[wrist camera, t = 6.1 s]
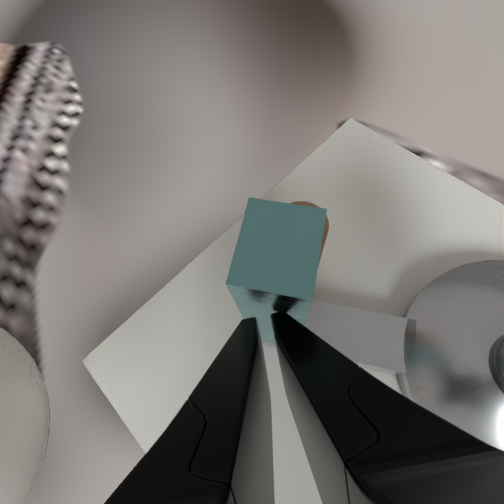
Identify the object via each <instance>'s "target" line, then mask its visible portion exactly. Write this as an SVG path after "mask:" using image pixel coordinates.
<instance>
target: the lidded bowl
mask: <svg viewBox="0 0 504 504" xmlns="http://www.w3.org/2000/svg"><path fill="white" fill-rule="evenodd" d="M49 419H50V411H49V401H48V395H47V391H46V387H45V384H44V380H43V378H42V375H41V373H40V371H39V369H38V367H37V365H36V363H35V361H34V359H33V358H32V357H31V355H30V354H29V353H28V352H27V350H26V349H25V348H24V347H23V346H22V345H21V344H20V343H19V341H18V340H17V339H15V338H14V337H13V336H12V335H10V334H9V333H8V332H7V331H6V330H4V329H3V328H1V327H0V504H26V502H27V500H28V498H29V496H30V494H31V492H32V489H33V487H34V485H35V482H36V480H37V478H38V476H39V473H40V470H41V466H42V463H43V459H44V456H45V453H46V447H47V441H48V435H49V421H50V420H49Z"/></svg>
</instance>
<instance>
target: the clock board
mask: <svg viewBox="0 0 504 504" xmlns="http://www.w3.org/2000/svg"><path fill="white" fill-rule="evenodd" d="M261 199H262V200H269V201H276V202H283V203H290V204H297V205H304V206H311V207H318V208H325V209H327V212H326V219H325V225H324V232H323V238H322V244H321V251H320V257H319V264H318V270H317V276H316V283H315V289H314V296H313V300H316V301H321V302H326V303H331V304H336V305H341V306H347V307H352V308H357V309H362V310H367V311H372V312H377V313H383V314H388V315H393V316H398V317H403V316H404V313H405V311H406V309H407V308H408V306H409V304H410V303H411V301H412V300H413V299H414V297H415V296H416V295H417V294H418V293H419V292H420V291H421V290H422V289H423V288H424V287H426V286H427V285H428V284H429V283H431V282H432V281H433V280H435V279H436V278H437V277H438V276H440V275H442V274H443V273H445V272H447V271H449V270H451V269H453V268H455V267H458V266H460V265H463V264H467V263H471V262H476V261H484V260H504V205H503V204H501V203H500V202H498V201H496V200H494V199H492V198H491V197H489V196H487V195H485V194H484V193H482V192H480V191H478V190H477V189H475V188H473V187H471V186H470V185H468V184H466V183H464V182H463V181H461V180H459V179H457V178H456V177H454V176H452V175H450V174H449V173H447V172H445V171H443V170H441V169H440V168H438V167H436V166H434V165H433V164H431V163H429V162H427V161H426V160H424V159H422V158H420V157H419V156H417V155H415V154H413V153H412V152H410V151H408V150H406V149H405V148H403V147H401V146H399V145H397V144H396V143H394V142H392V141H390V140H389V139H387V138H385V137H383V136H382V135H380V134H378V133H376V132H375V131H373V130H371V129H369V128H368V127H366V126H364V125H362V124H361V123H359V122H357V121H355V120H353V119H352V118H350V119H349V120H348V121H346V122H345V123H344V124H343V125H342V126H341V127H340V128H339V129H338V130H337V131H335V132H334V133H333V134H332V135H331V136H330V137H329V138H328V139H327V140H325V142H323V143H322V144H321V145H320V146H319V147H318V148H317V149H316V150H315V151H313V152H312V153H311V154H310V155H309V156H308V157H307V158H306V159H305V160H303V161H302V162H301V163H300V164H299V165H298V166H297V167H296V168H294V169H293V170H292V171H291V172H290V173H289V174H288V175H287V176H286V177H285V178H284V179H282V180H281V181H280V182H279V183H278V184H277V185H276V186H275V187H274V188H272V189H271V190H270V191H269V192H268V193H267V194H266V195H265V196H264V197H262V198H261ZM244 215H245V214H244ZM244 215H243V216H241V217H240V218H239V219H238V220H237V221H236V222H235V223H234V224H232V225H231V226H230V227H229V228H228V229H227V230H226V231H225V232H224V233H223V234H221V235H220V236H219V237H218V238H217V239H216V240H215V241H214V242H213V243H212V244H210V245H209V246H208V247H207V248H206V249H205V250H204V251H203V252H202V253H200V254H199V255H198V256H197V257H196V258H195V259H194V260H193V261H192V262H190V263H189V264H188V265H187V266H186V267H185V268H184V269H183V270H182V271H180V272H179V273H178V274H177V275H176V276H175V277H174V278H173V279H172V280H171V281H169V282H168V283H167V284H166V285H165V286H164V287H163V288H162V289H161V290H159V291H158V293H156V294H155V295H154V296H153V297H152V298H151V299H150V300H148V301H147V302H146V303H145V304H144V305H143V306H142V307H141V308H140V309H138V310H137V311H136V312H135V313H134V314H133V315H132V316H131V317H130V318H129V319H127V320H126V321H125V322H124V323H123V324H122V325H121V326H120V327H119V328H117V329H116V330H115V331H114V332H113V333H112V334H111V335H110V336H109V337H108V338H106V339H105V340H104V341H103V342H102V343H101V344H100V345H99V346H97V347H96V348H95V349H94V350H93V351H92V352H91V353H90V354H89V355H88V356H86V358H84V359H83V360H82V362H83V364H84V365H85V366H86V368H87V369H88V371H89V372H90V374H91V375H92V377H93V378H94V380H95V381H96V382H97V384H98V385H99V387H100V388H101V389H102V391H103V392H104V394H105V395H106V397H107V398H108V400H109V401H110V403H111V404H112V406H113V407H114V408H115V410H116V411H117V413H118V414H119V416H120V417H121V418H122V420H123V421H124V423H125V424H126V426H127V427H128V428H129V430H130V432H131V433H132V434H133V436H134V437H135V439H136V440H137V442H138V443H139V445H140V446H141V447H142V449H143V450H144V452H145V453H147V452H148V451H149V449H150V448H151V447H152V446H153V444H154V443H155V442H156V441H157V439H158V438H159V437H160V436H161V434H162V433H163V432H164V431H165V429H166V428H167V427H168V425H169V424H170V422H171V421H172V420H173V418H174V417H175V416H176V414H177V413H178V411H179V410H180V409H181V407H182V406H183V404H184V403H185V401H186V400H188V397H189V396H190V394H191V393H192V391H193V390H194V388H195V387H196V385H197V384H198V383H199V381H200V380H201V378H202V377H203V375H204V374H205V372H206V371H207V369H208V368H209V367H210V365H211V364H212V362H213V361H214V359H215V358H216V356H217V355H218V353H219V352H220V351H221V349H222V348H223V346H224V345H225V343H226V342H227V340H228V339H229V337H230V336H231V334H232V333H233V332H234V330H235V329H236V327H237V326H238V324H239V323H240V321H241V320H242V319H243V317H242V315H241V313H240V311H239V309H238V307H237V305H236V303H235V301H234V299H233V298H232V296H231V294H230V292H229V290H228V288H227V286H226V284H225V283H226V280H227V276H228V273H229V269H230V265H231V262H232V258H233V254H234V251H235V247H236V244H237V240H238V236H239V233H240V229H241V225H242V222H243V218H244ZM262 345H263V344H262ZM263 351H264V357H265V364H266V370H267V376H268V382H269V388H270V396H271V412H272V441H273V470H274V499H275V504H322V501H321V498H320V495H319V492H318V489H317V486H316V483H315V480H314V477H313V474H312V471H311V468H310V465H309V462H308V459H307V456H306V453H305V450H304V447H303V444H302V441H301V438H300V435H299V432H298V430H297V427H296V424H295V421H294V418H293V415H292V412H291V409H290V406H289V403H288V400H287V396H286V393H285V388H284V384H283V379H282V374H281V369H280V364H279V359H278V354H277V349H276V347H272V346H268V345H263ZM359 367H361V366H359ZM362 368H363V369H365V370H366V371H367V372H369V373H370V374H371V375H373V376H374V377H376V378H377V379H379V380H380V381H382V382H383V383H385V384H386V385H388V386H389V387H391V388H392V389H394V390H395V391H397V392H399V393H400V394H402V395H404V394H403V390H402V387H401V383H400V380H399V375H397V374H392V373H388V372H383V371H379V370H374V369H370V368H365V367H362Z"/></svg>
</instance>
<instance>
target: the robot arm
mask: <svg viewBox="0 0 504 504" xmlns="http://www.w3.org/2000/svg"><path fill="white" fill-rule="evenodd" d="M270 318H271V323H272V328H273V334H274V339H275V344H276V349H277V354H278V359H279V364H280V369H281V374H282V379H283V384H284V388H285V393H286V396H287V400H288V403H289V406H290V409H291V412H292V415H293V418H294V421H295V424H296V427H297V430H298V432H299V435H300V438H301V441H302V444H303V447H304V450H305V453H306V456H307V459H308V462H309V465H310V468H311V471H312V474H313V477H314V480H315V483H316V486H317V489H318V492H319V495H320V498H321V501H322V504H504V451H503V450H500V449H498V448H496V447H494V446H491V445H489V444H487V443H485V442H483V441H482V440H480V439H478V438H476V437H474V436H472V435H471V434H469V433H467V432H466V431H464V430H462V429H460V428H459V427H457V426H455V425H453V424H452V423H450V422H448V421H446V420H445V419H443V418H441V417H440V416H438V415H436V414H434V413H433V412H431V411H429V410H427V409H426V408H424V407H422V406H421V405H419V404H417V403H415V402H414V401H412V400H410V399H409V398H407V397H405V396H404V395H402V394H400V393H399V392H397V391H395V390H394V389H392V388H391V387H389V386H388V385H386V384H385V383H383V382H382V381H380V380H379V379H377V378H376V377H374V376H373V375H371V374H370V373H369V372H367V371H366V370H365V369H363V368H362V367H359V365H358V364H356V363H355V362H353V361H352V360H351V359H349V358H348V357H347V356H345V355H344V354H342V353H341V352H340V351H338V350H337V349H336V348H334V347H333V346H331V345H330V344H329V343H327V342H326V341H325V340H323V339H322V338H320V337H319V336H318V335H316V334H315V333H314V332H312V331H311V330H309V329H308V328H307V327H305V326H304V325H303V324H301V323H300V322H298V321H297V320H296V319H294V318H293V317H292V316H290V315H289V314H287V313H286V312H276V313H272V314H271V315H270ZM104 504H275V499H274V470H273V441H272V412H271V396H270V388H269V382H268V376H267V370H266V364H265V357H264V351H263V345H262V340H261V336H260V331H259V326H258V322H257V318H256V317H250V318H245V319H242V320H241V321H240V323H239V324H238V326H237V327H236V329H235V330H234V332H233V333H232V334H231V336H230V337H229V339H228V340H227V342H226V343H225V345H224V346H223V348H222V349H221V351H220V352H219V353H218V355H217V356H216V358H215V359H214V361H213V362H212V364H211V365H210V367H209V368H208V369H207V371H206V372H205V374H204V375H203V377H202V378H201V380H200V381H199V383H198V384H197V385H196V387H195V388H194V390H193V391H192V393H191V394H190V396H189V397H188V400H186V401H185V403H184V404H183V406H182V407H181V409H180V410H179V411H178V413H177V414H176V416H175V417H174V418H173V420H172V421H171V422H170V424H169V425H168V427H167V428H166V429H165V431H164V432H163V433H162V434H161V436H160V437H159V438H158V439H157V441H156V442H155V443H154V444H153V446H152V447H151V448H150V449H149V451H148V452H147V453H146V454H145V455H144V457H143V458H142V459H141V460H140V461H139V462H138V464H137V465H136V466H135V467H134V468H133V470H132V471H131V472H130V473H129V474H128V476H127V477H126V478H125V479H124V480H123V481H122V483H121V484H120V485H119V486H118V488H117V489H116V490H115V491H114V492H113V493H112V495H111V496H110V497H109V498H108V499H107V501H106V502H105V503H104Z"/></svg>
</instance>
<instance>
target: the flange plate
mask: <svg viewBox="0 0 504 504" xmlns="http://www.w3.org/2000/svg"><path fill="white" fill-rule="evenodd" d="M326 212H327V209H325V208H318V207H311V206H304V205H297V204H290V203H283V202H276V201H269V200H262V199H255V198H249V200H248V204H247V207H246V211H245V215H244V218H243V222H242V225H241V229H240V233H239V236H238V240H237V244H236V247H235V251H234V254H233V258H232V262H231V265H230V269H229V273H228V276H227V280H226V283H225V284H226V286H227V288H228V290H229V292H230V294H231V296H232V298H233V299H234V301H235V303H236V305H237V307H238V309H239V311H240V313H241V315H242V317H243V319H245V318H250V317H256V318H257V322H258V326H259V331H260V336H261V340H262V344H263V345H268V346H272V347H276V344H275V339H274V334H273V328H272V323H271V318H270V315H271V314H272V313H276V312H286V313H287V314H289V315H290V316H292V317H293V318H294V319H296V320H297V321H298V322H300V323H301V324H303V325H304V326H305V327H307V328H308V329H309V330H311V331H312V332H314V333H315V334H316V335H318V336H319V337H320V338H322V339H323V340H325V341H326V342H327V343H329V344H330V345H331V346H333V347H334V348H336V349H337V350H338V351H340V352H341V353H342V354H344V355H345V356H347V357H348V358H349V359H351V360H352V361H353V362H355V363H356V364H358V365H359V366H361V367H365V368H370V369H374V370H379V371H383V372H388V373H392V374H397V375H399V380H400V383H401V387H402V390H403V394H404V396H405V397H407V398H409V399H410V400H412V401H414V402H415V403H417V404H419V405H421V406H422V407H424V408H426V409H427V410H429V411H431V412H433V413H434V414H436V415H438V416H440V417H441V418H443V419H445V420H446V421H448V422H450V423H452V424H453V425H455V426H457V427H459V428H460V429H462V430H464V431H466V432H467V433H469V434H471V435H472V436H474V437H476V438H478V439H480V440H482V441H483V442H485V443H487V444H489V445H491V446H494V447H496V448H498V449H500V450H503V451H504V260H484V261H476V262H471V263H467V264H463V265H460V266H458V267H455V268H453V269H451V270H449V271H447V272H445V273H443V274H442V275H440V276H438V277H437V278H436V279H435V280H433V281H432V282H431V283H429V284H428V285H427V286H426V287H424V288H423V289H422V290H421V291H420V292H419V293H418V294H417V295H416V296H415V297H414V299H413V300H412V301H411V303H410V304H409V306H408V308H407V309H406V311H405V313H404V316H403V317H398V316H393V315H388V314H383V313H377V312H372V311H367V310H362V309H357V308H352V307H347V306H341V305H336V304H331V303H326V302H321V301H316V300H313V296H314V289H315V283H316V276H317V270H318V264H319V257H320V251H321V244H322V238H323V232H324V225H325V219H326Z"/></svg>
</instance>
